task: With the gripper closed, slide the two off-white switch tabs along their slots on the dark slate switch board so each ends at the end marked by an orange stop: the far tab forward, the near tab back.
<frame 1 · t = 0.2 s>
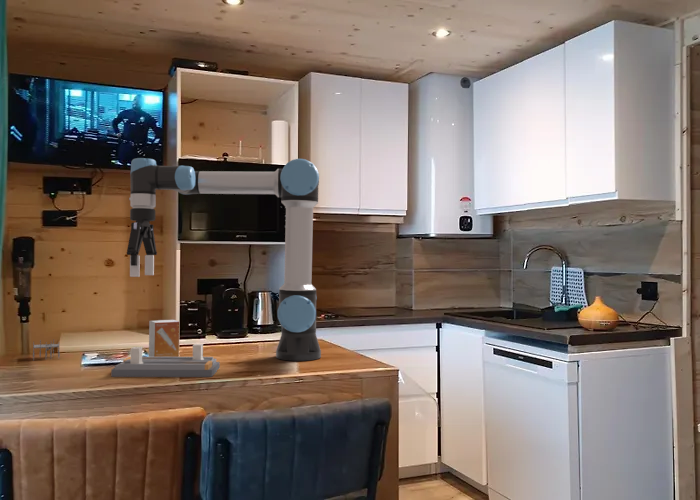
hand: (142, 276, 195), 28 cm above the worktop, fingers open, 13 cm apart
tab B: (136, 357, 178), point 5 cm above the worktop, slide at 8.0 cm
building frame: (46, 359, 203), on the worktop
tab A: (197, 353, 185), point 5 cm above the worktop, slide at -8.0 cm
switch board: (167, 372, 182), on the worktop
small box: (163, 361, 200), on the worktop
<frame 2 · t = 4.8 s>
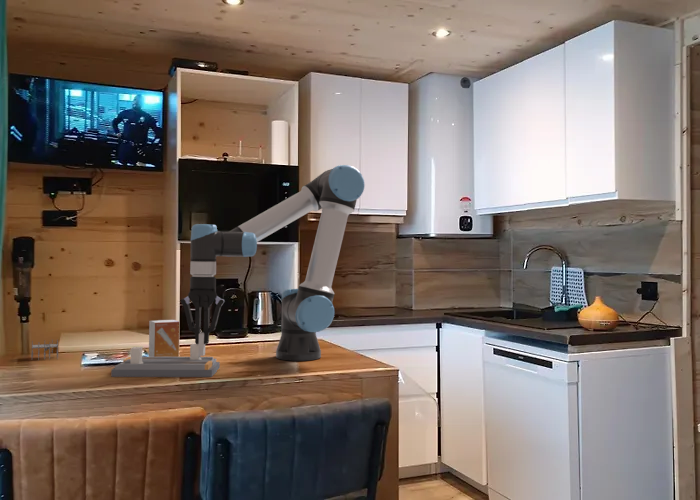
hand: (201, 354, 185), 5 cm above the worktop, fingers closed
tab A: (195, 353, 185), point 5 cm above the worktop, slide at -7.3 cm, touching gripper
everything else where it was.
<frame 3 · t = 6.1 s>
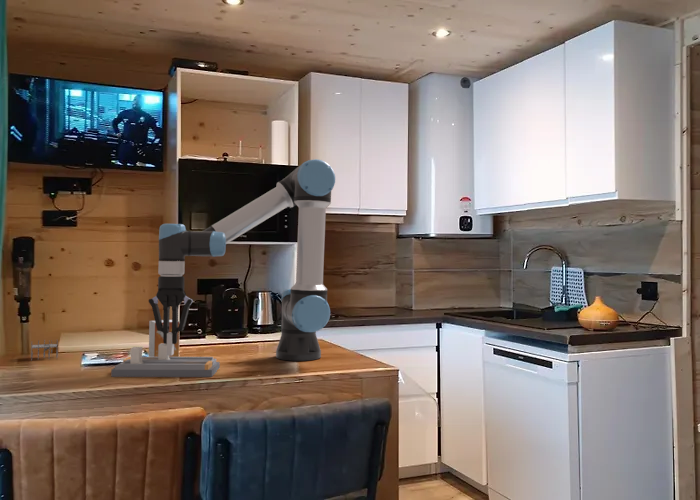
hand: (170, 354, 185), 5 cm above the worktop, fingers closed
tab A: (163, 353, 185), point 5 cm above the worktop, slide at 2.1 cm, touching gripper
everything else where it was.
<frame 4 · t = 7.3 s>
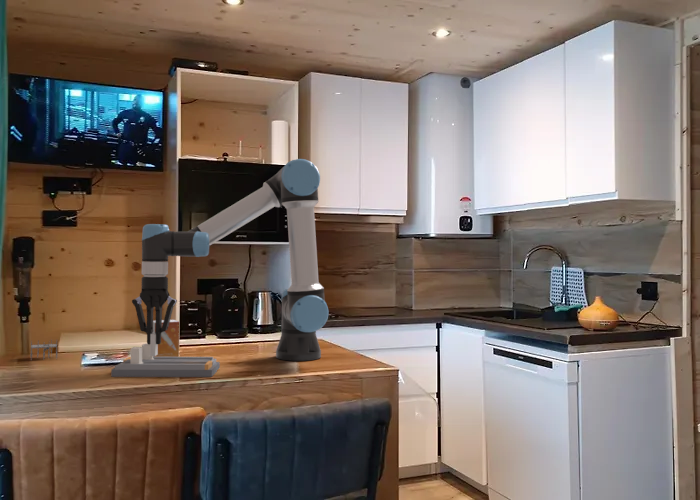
hand: (153, 355, 185), 4 cm above the worktop, fingers closed
tab A: (147, 353, 185), point 5 cm above the worktop, slide at 6.9 cm, touching gripper
everything else where it was.
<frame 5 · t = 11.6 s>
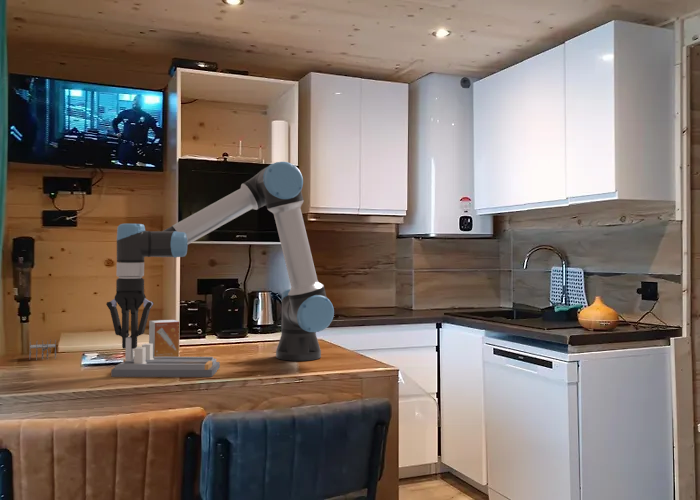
hand: (129, 359, 178), 4 cm above the worktop, fingers closed
tab B: (139, 357, 178), point 5 cm above the worktop, slide at 7.0 cm, touching gripper
tab A: (147, 353, 185), point 5 cm above the worktop, slide at 6.9 cm
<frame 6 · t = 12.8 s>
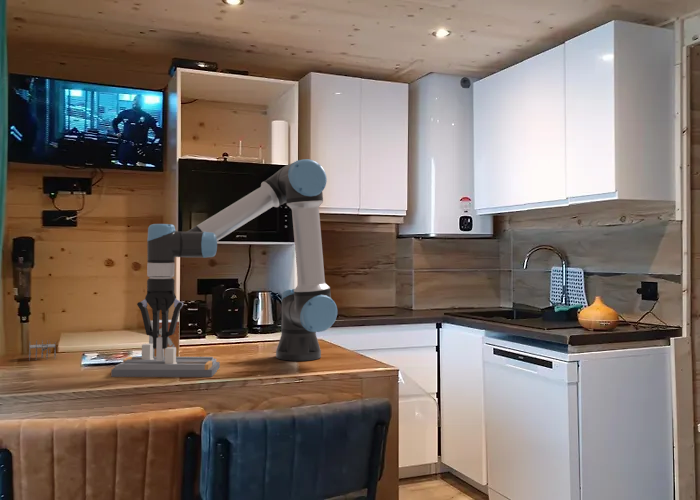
hand: (160, 360, 178), 4 cm above the worktop, fingers closed
tab B: (170, 357, 178), point 5 cm above the worktop, slide at -1.7 cm, touching gripper
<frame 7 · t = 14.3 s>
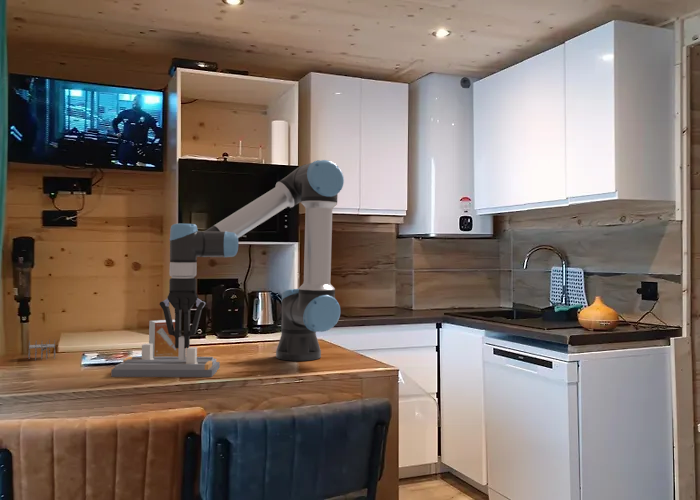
hand: (182, 359, 178), 4 cm above the worktop, fingers closed
tab B: (191, 357, 178), point 5 cm above the worktop, slide at -7.7 cm
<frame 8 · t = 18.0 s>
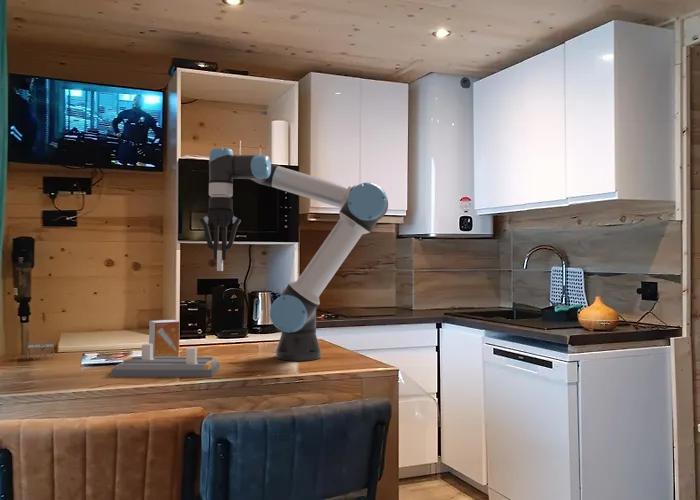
hand: (219, 270, 199), 29 cm above the worktop, fingers closed
at the end: tab A slide at 6.9 cm; tab B slide at -7.7 cm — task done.
